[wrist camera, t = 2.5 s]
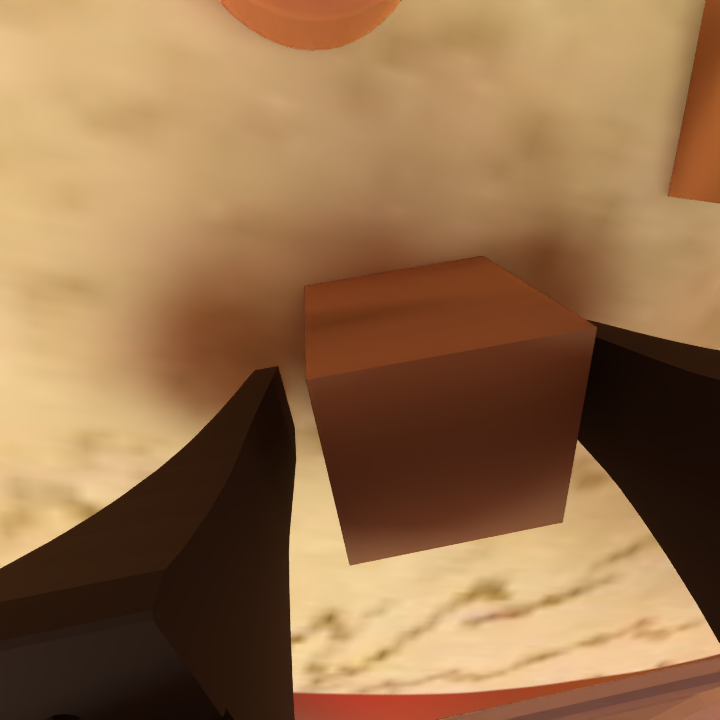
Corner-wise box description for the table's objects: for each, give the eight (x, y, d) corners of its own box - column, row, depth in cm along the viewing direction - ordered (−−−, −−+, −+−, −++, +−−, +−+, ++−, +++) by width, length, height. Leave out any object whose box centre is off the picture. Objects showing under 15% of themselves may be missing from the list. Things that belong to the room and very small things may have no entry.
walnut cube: (479, 400, 14) (562, 522, 9) (334, 427, 13) (349, 565, 9) (481, 255, 11) (597, 327, 7) (304, 285, 11) (305, 379, 7)
